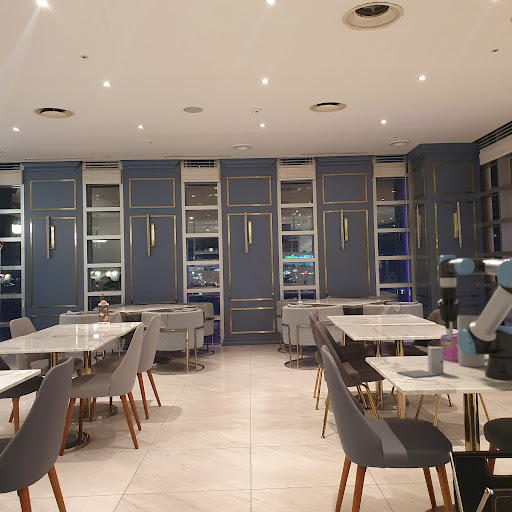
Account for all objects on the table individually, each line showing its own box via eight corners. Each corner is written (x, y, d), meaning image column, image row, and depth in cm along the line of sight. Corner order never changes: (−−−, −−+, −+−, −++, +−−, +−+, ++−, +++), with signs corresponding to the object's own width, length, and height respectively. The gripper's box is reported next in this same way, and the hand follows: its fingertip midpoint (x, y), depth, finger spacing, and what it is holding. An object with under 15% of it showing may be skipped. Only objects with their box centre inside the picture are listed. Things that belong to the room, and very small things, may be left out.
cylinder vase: (490, 366, 261) (488, 316, 262) (467, 367, 259) (465, 317, 260) (476, 362, 273) (474, 315, 274) (454, 363, 271) (452, 315, 272)
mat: (439, 375, 240) (439, 374, 240) (414, 378, 235) (414, 376, 235) (421, 371, 252) (421, 369, 252) (397, 373, 247) (396, 372, 247)
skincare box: (431, 373, 244) (430, 348, 245) (427, 372, 249) (427, 346, 249) (444, 373, 245) (443, 347, 245) (440, 371, 249) (439, 346, 250)
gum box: (466, 355, 298) (465, 332, 299) (478, 357, 292) (477, 333, 293) (440, 360, 284) (440, 335, 285) (453, 361, 278) (452, 336, 279)
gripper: (453, 286, 258) (454, 333, 257) (432, 286, 253) (433, 335, 252) (464, 286, 251) (466, 335, 250) (442, 287, 246) (444, 336, 245)
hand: (449, 335), depth 251 cm, fingers closed
